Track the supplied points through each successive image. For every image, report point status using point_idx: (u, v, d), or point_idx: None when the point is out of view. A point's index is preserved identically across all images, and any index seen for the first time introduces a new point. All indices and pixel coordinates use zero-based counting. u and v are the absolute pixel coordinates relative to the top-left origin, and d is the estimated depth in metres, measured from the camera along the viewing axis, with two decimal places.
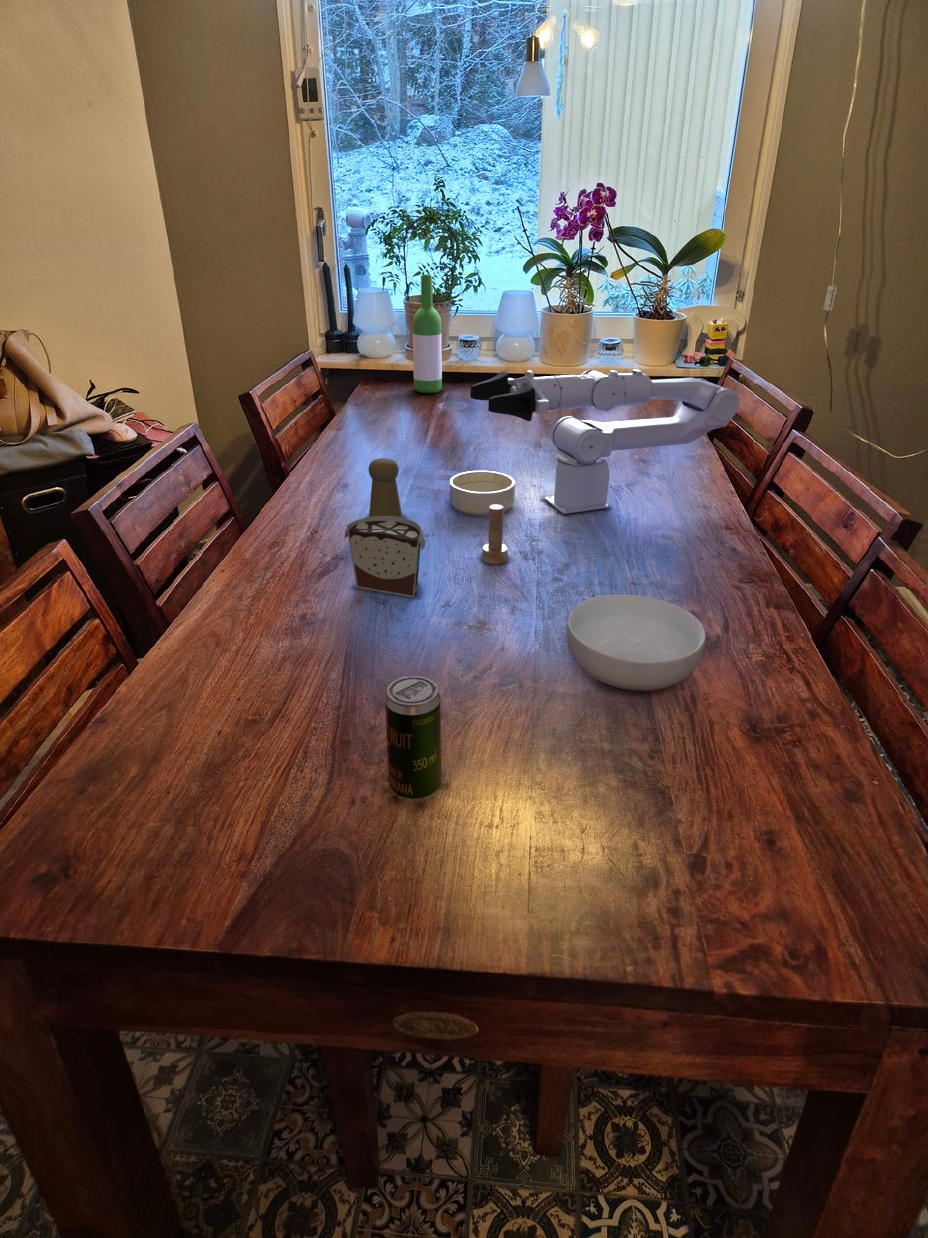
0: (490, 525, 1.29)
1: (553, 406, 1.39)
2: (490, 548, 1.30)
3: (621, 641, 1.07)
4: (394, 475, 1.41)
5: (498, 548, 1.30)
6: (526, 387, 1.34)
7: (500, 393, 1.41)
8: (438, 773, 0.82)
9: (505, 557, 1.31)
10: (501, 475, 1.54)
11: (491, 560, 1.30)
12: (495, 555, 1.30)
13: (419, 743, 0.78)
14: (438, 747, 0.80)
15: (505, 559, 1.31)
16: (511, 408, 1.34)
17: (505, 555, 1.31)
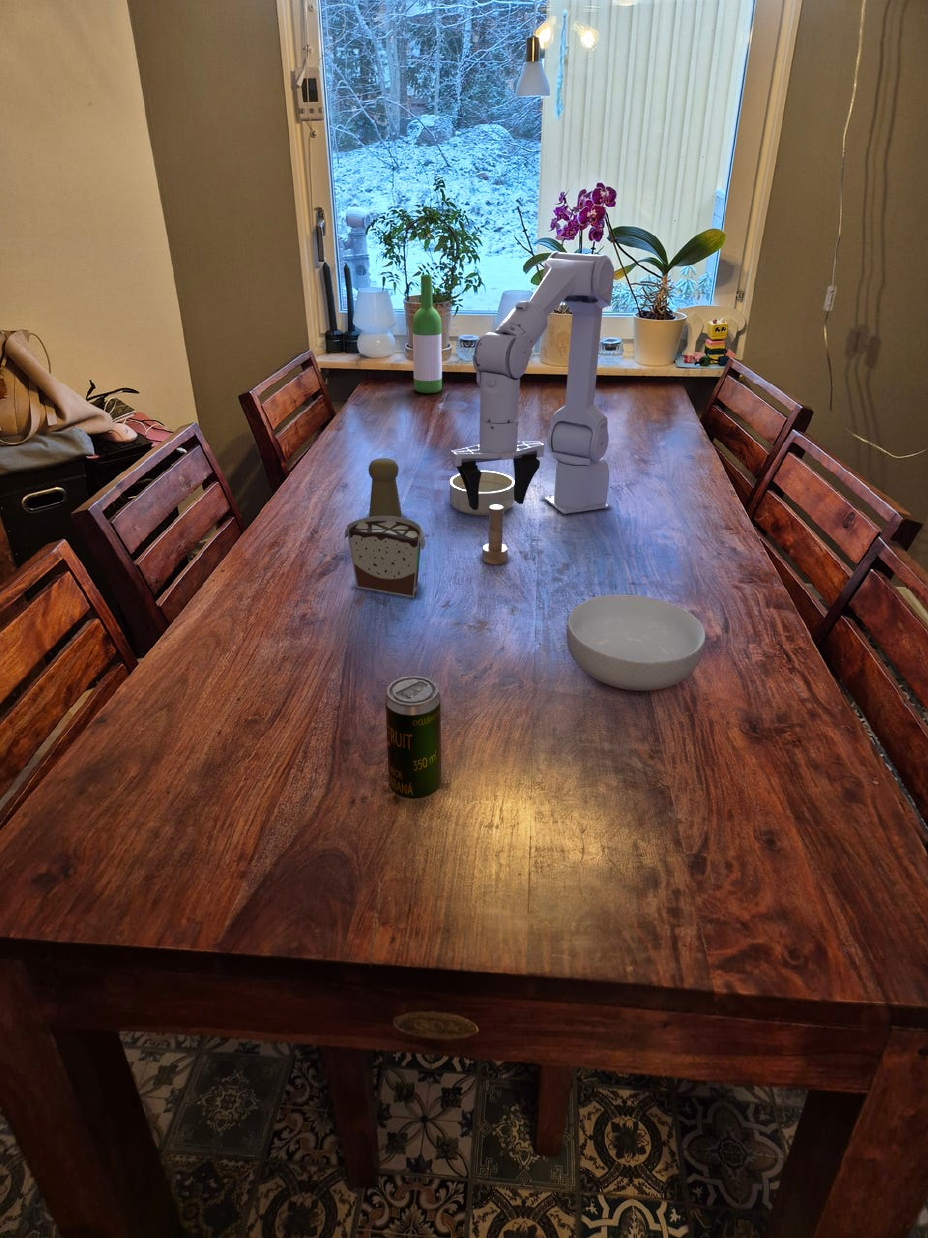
0: (490, 525, 1.29)
1: None
2: (490, 548, 1.30)
3: (621, 641, 1.07)
4: (394, 475, 1.41)
5: (498, 548, 1.30)
6: (530, 468, 1.24)
7: None
8: (438, 773, 0.82)
9: (505, 557, 1.31)
10: (501, 475, 1.54)
11: (491, 560, 1.30)
12: (495, 555, 1.30)
13: (419, 743, 0.78)
14: (438, 747, 0.80)
15: (505, 559, 1.31)
16: None
17: (505, 555, 1.31)
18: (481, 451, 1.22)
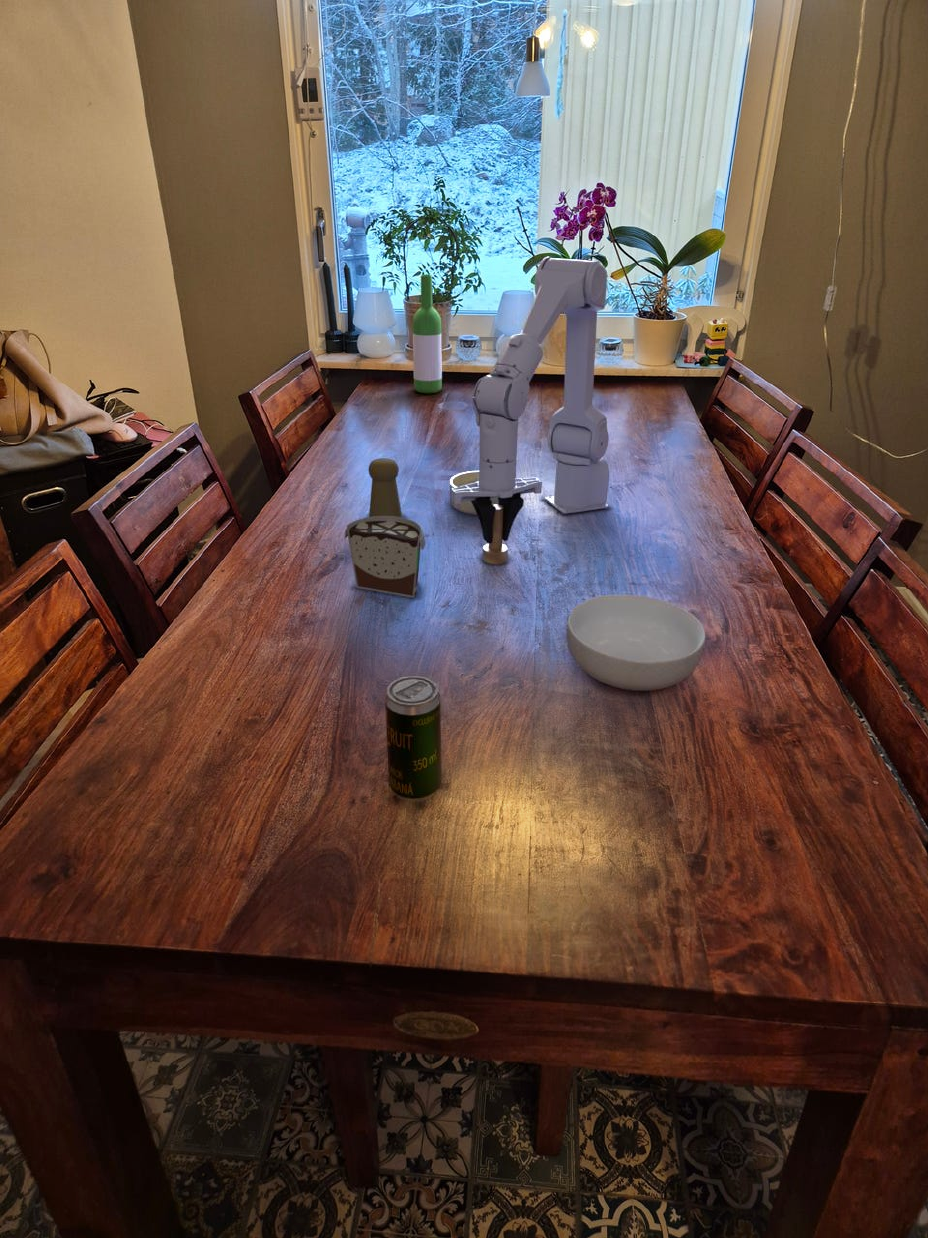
0: None
1: None
2: (490, 548, 1.30)
3: (621, 641, 1.07)
4: (394, 475, 1.41)
5: (498, 548, 1.30)
6: (514, 506, 1.26)
7: None
8: (438, 773, 0.82)
9: (505, 557, 1.31)
10: None
11: (491, 560, 1.30)
12: (495, 555, 1.30)
13: (419, 743, 0.78)
14: (438, 747, 0.80)
15: (505, 559, 1.31)
16: None
17: (505, 555, 1.31)
18: (480, 489, 1.25)
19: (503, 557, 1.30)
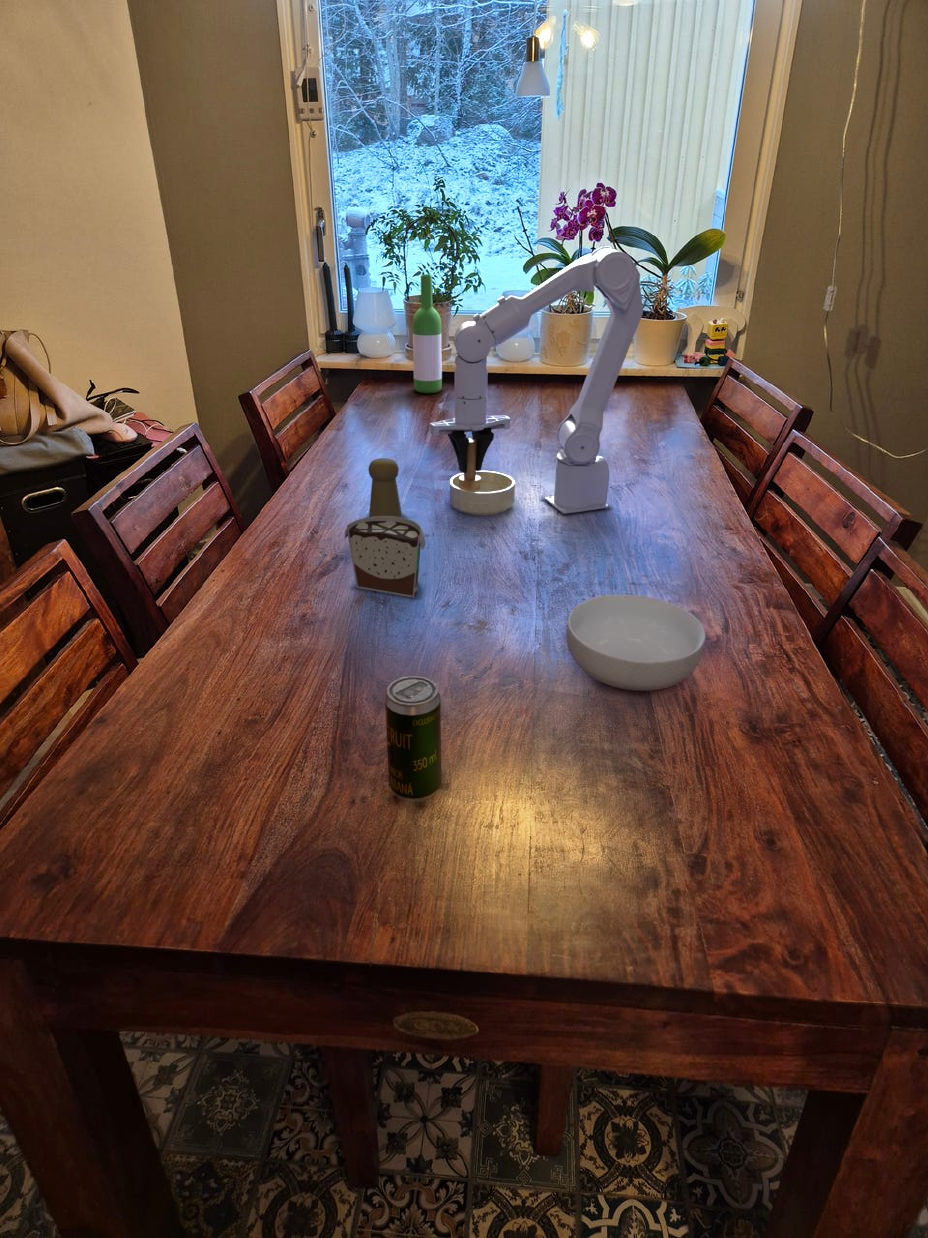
0: None
1: None
2: (465, 477, 1.49)
3: (621, 641, 1.07)
4: (394, 475, 1.41)
5: (472, 477, 1.49)
6: (485, 439, 1.44)
7: None
8: (438, 773, 0.82)
9: (478, 486, 1.49)
10: (501, 475, 1.54)
11: (466, 488, 1.49)
12: (469, 483, 1.48)
13: (419, 743, 0.78)
14: (438, 747, 0.80)
15: (478, 487, 1.49)
16: None
17: (478, 484, 1.49)
18: (456, 423, 1.43)
19: (476, 485, 1.49)
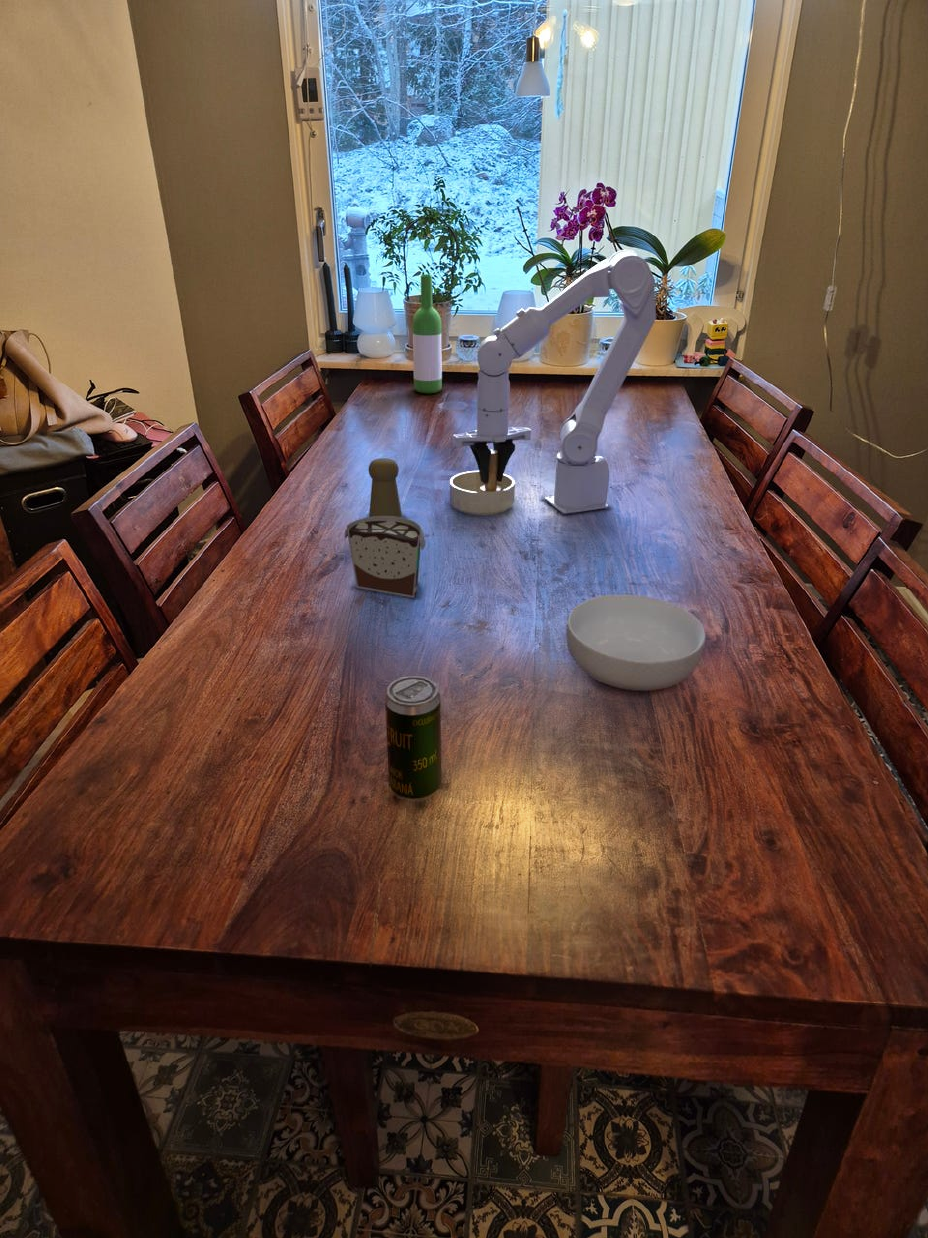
0: None
1: None
2: (486, 488, 1.52)
3: (621, 641, 1.07)
4: (394, 475, 1.41)
5: (493, 488, 1.51)
6: (507, 450, 1.47)
7: None
8: (438, 773, 0.82)
9: None
10: None
11: None
12: None
13: (419, 743, 0.78)
14: (438, 747, 0.80)
15: None
16: None
17: None
18: (478, 435, 1.46)
19: None
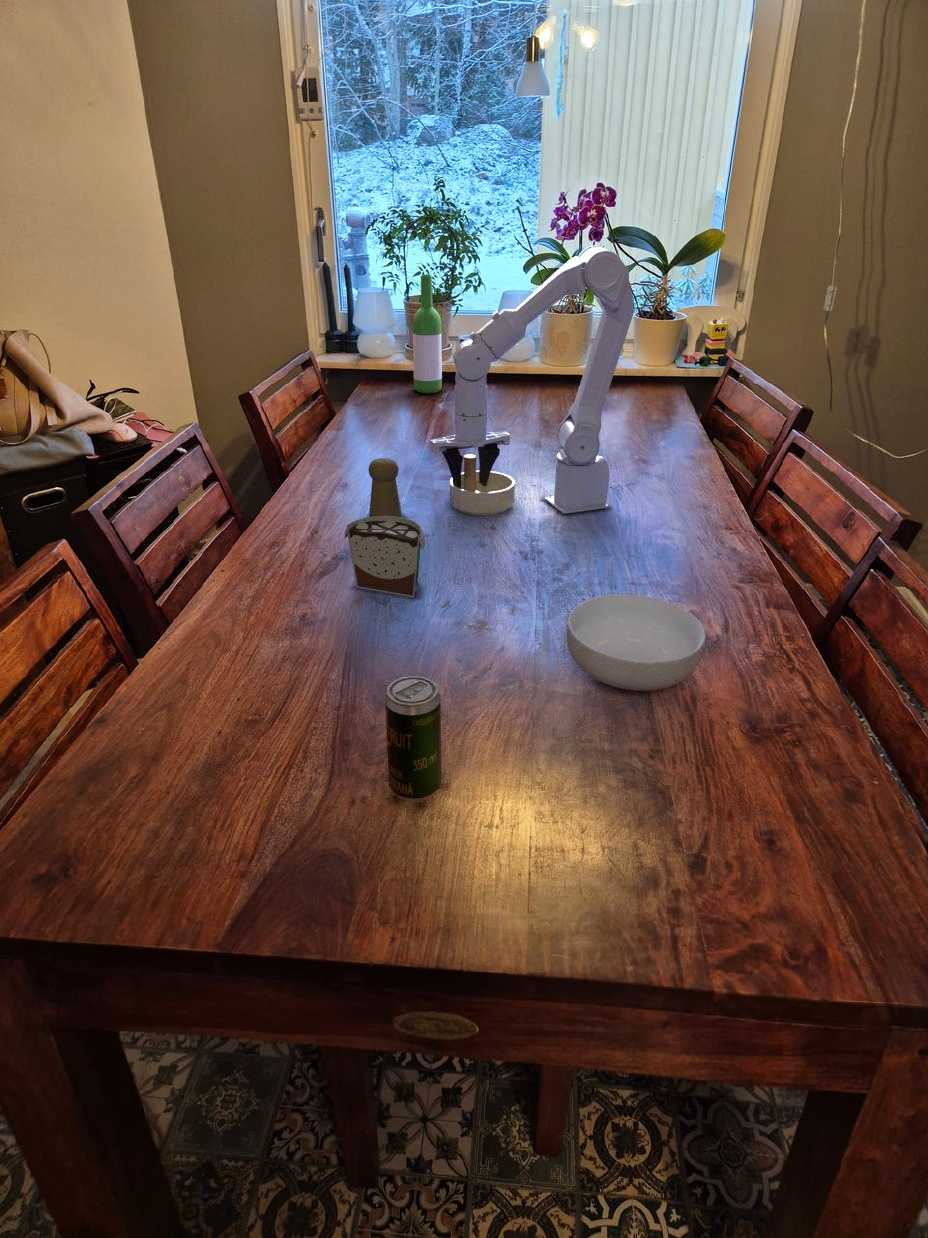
0: (465, 472, 1.48)
1: None
2: None
3: (621, 641, 1.07)
4: (394, 475, 1.41)
5: None
6: (491, 455, 1.46)
7: None
8: (438, 773, 0.82)
9: None
10: (501, 475, 1.54)
11: None
12: None
13: (419, 743, 0.78)
14: (438, 747, 0.80)
15: None
16: None
17: None
18: (456, 440, 1.44)
19: None
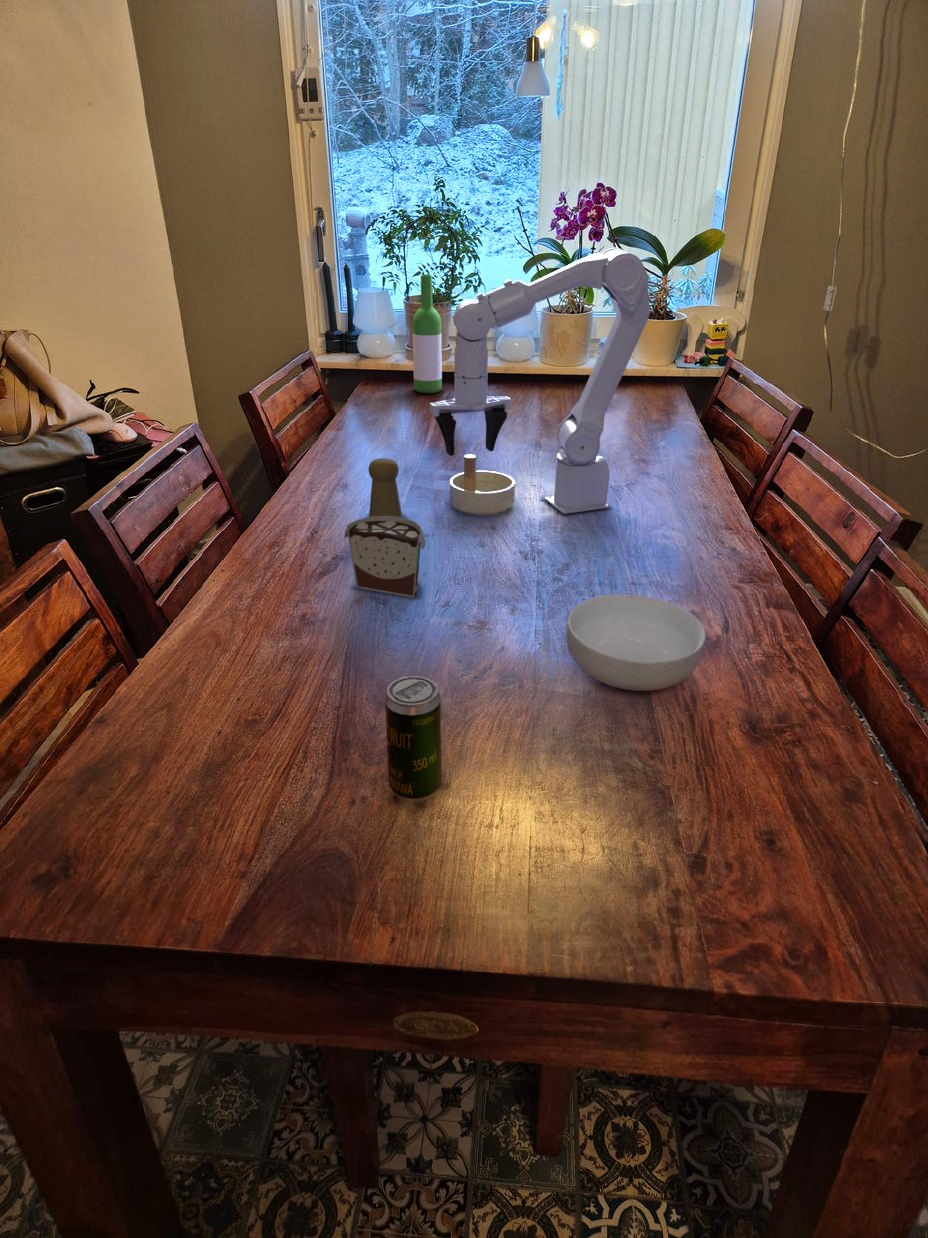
0: (465, 472, 1.48)
1: None
2: None
3: (621, 641, 1.07)
4: (394, 475, 1.41)
5: None
6: (498, 418, 1.43)
7: None
8: (438, 773, 0.82)
9: None
10: (501, 475, 1.54)
11: None
12: None
13: (419, 743, 0.78)
14: (438, 747, 0.80)
15: None
16: None
17: None
18: (456, 403, 1.41)
19: None
